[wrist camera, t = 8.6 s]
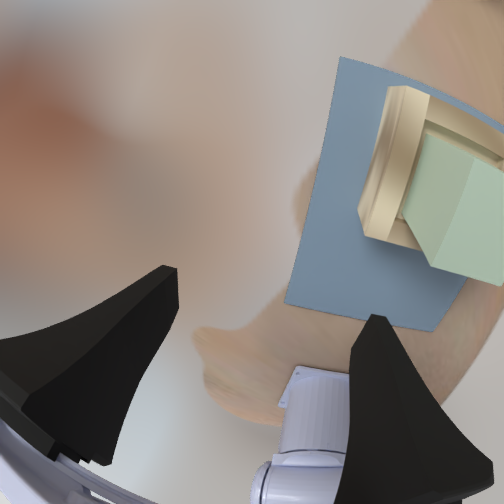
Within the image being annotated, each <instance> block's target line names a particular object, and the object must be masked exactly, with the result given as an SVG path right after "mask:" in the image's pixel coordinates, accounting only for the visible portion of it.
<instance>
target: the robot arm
mask: <svg viewBox="0 0 504 504" xmlns="http://www.w3.org/2000/svg"><path fill="white" fill-rule="evenodd" d="M178 309H179V299H178V278H177V268H173V267H169V266H165V265H162V266H160V267H158V268H156V269H155V270H153V271H152V272H150V273H148V274H147V275H145V276H144V277H143V278H141V279H139V280H138V281H136V282H135V283H133V284H131V285H130V286H128V287H127V288H125V289H124V290H122V291H120V292H119V293H117V294H115V295H114V296H112V297H110V298H108V299H107V300H105V301H103V302H102V303H100V304H98V305H96V306H95V307H93V308H91V309H89V310H87V311H85V312H83V313H81V314H79V315H76V316H74V317H73V318H70V319H68V320H65V321H63V322H60V323H57V324H55V325H52V326H50V327H47V328H44V329H41V330H38V331H35V332H32V333H28V334H25V335H20V336H16V337H12V338H6V339H1V340H0V490H1V491H2V493H3V494H4V495H5V497H6V498H7V499H8V500H9V501H10V502H11V503H12V504H110V503H108V502H106V501H103V500H101V499H98V498H96V497H94V496H92V495H91V492H90V490H91V491H93V492H95V493H97V494H98V495H100V496H102V497H104V498H106V499H108V500H110V501H112V502H114V503H116V504H157V503H155V502H152V501H150V500H148V499H145V498H143V497H140V496H138V495H136V494H134V493H131V492H129V491H127V490H125V489H122V488H121V487H119V486H117V485H115V484H113V483H111V482H109V481H107V480H105V479H103V478H101V477H99V476H98V475H96V474H94V473H92V472H91V471H89V470H87V469H85V468H84V467H82V466H80V465H79V464H78V463H79V461H80V459H81V460H83V461H85V462H86V463H90V461H91V460H93V461H94V462H96V463H98V464H100V465H102V466H107V465H110V464H112V459H113V455H114V451H115V448H116V444H117V441H118V437H119V434H120V431H121V428H122V425H123V422H124V419H125V417H126V414H127V411H128V409H129V406H130V404H131V401H132V399H133V396H134V394H135V392H136V389H137V387H138V385H139V382H140V380H141V378H142V376H143V374H144V373H145V371H146V369H147V367H148V366H149V364H150V362H151V361H152V359H153V357H154V356H155V354H156V352H157V351H158V349H159V347H160V346H161V344H162V342H163V341H164V339H165V337H166V335H167V334H168V332H169V330H170V328H171V325H172V323H173V321H174V319H175V316H176V314H177V311H178ZM278 406H279V407H281V408H285V414H284V419H283V425H282V430H281V435H280V441H279V446H278V449H279V453H278V454H273V459H272V461H267V462H265V463H264V464H263V465H262V466H261V467H259V468H258V470H257V472H256V474H255V476H254V479H253V483H252V487H251V493H250V504H462V499H465V498H467V497H469V496H472V495H474V494H477V493H479V492H481V491H483V490H485V489H487V488H489V487H491V486H492V485H493V484H494V473H493V462H492V461H491V460H490V459H489V458H488V457H486V456H485V455H484V454H483V453H482V452H481V451H479V450H478V449H477V448H476V447H475V446H474V445H473V444H472V443H471V442H470V441H469V440H468V439H467V438H466V437H465V436H464V435H463V434H462V432H461V431H460V430H459V429H458V428H457V427H456V426H455V424H454V423H453V422H452V421H451V420H450V418H449V417H448V416H447V415H446V413H445V412H444V411H443V410H442V408H441V407H440V405H439V404H438V402H437V401H436V400H435V398H434V397H433V395H432V394H431V392H430V391H429V389H428V388H427V386H426V385H425V383H424V381H423V380H422V378H421V377H420V375H419V373H418V372H417V370H416V368H415V367H414V365H413V363H412V361H411V360H410V358H409V356H408V354H407V353H406V351H405V349H404V347H403V345H402V344H401V342H400V340H399V338H398V336H397V335H396V333H395V331H394V329H393V328H392V326H391V324H390V322H389V321H388V319H387V317H386V316H381V315H376V314H371V315H370V317H369V319H368V320H367V322H366V324H365V326H364V328H363V329H362V331H361V333H360V335H359V336H358V338H357V340H356V341H355V343H354V345H353V346H352V348H351V355H350V366H349V374H345V373H338V372H332V371H326V370H321V369H315V368H310V367H304V366H297V367H296V368H295V370H294V372H293V374H292V376H291V378H290V380H289V382H288V384H287V386H286V389H285V391H284V393H283V395H282V397H281V399H280V401H279V403H278ZM89 489H90V490H89Z"/></svg>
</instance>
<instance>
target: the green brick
mask: <svg viewBox="0 0 504 504" xmlns="http://www.w3.org/2000/svg"><path fill="white" fill-rule="evenodd" d="M401 213H402V215H403V217H404V218H405V220H406V222H407V223H408V225H409V227H410V229H411V230H412V232H413V234H414V236H415V238H416V239H417V241H418V243H419V245H420V247H421V249H422V250H423V252H424V254H425V256H426V258H427V260H428V262H429V264H430V266H431V267H435V268H439V269H442V270H446V271H449V272H453V273H456V274H460V275H463V276H467V277H470V278H474V279H477V280H480V281H484V282H487V283H490V284H494V285H497V286H500V287H501V286H502V284H503V282H504V172H503V171H501V170H500V169H498V168H496V167H495V166H493V165H491V164H490V163H488V162H486V161H484V160H482V159H480V158H478V157H476V156H475V155H473V154H471V153H469V152H467V151H465V150H462V149H460V148H458V147H456V146H454V145H452V144H450V143H448V142H445V141H443V140H441V139H438V138H436V137H434V136H431V135H429V134H427V133H426V136H425V140H424V144H423V147H422V151H421V154H420V158H419V161H418V165H417V168H416V171H415V174H414V177H413V180H412V184H411V187H410V189H409V192H408V195H407V198H406V201H405V204H404V207H403V209H402V212H401Z"/></svg>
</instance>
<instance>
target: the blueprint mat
mask: <svg viewBox="0 0 504 504" xmlns="http://www.w3.org/2000/svg"><path fill="white" fill-rule="evenodd" d="M389 86H409V87H412V88H414V89H417V90H419V91H422V92H424V93H426V94H429V95H431V96H433V97H436V98H438V99H440V100H442V101H444V102H447V103H449V104H451V105H453V106H455V107H457V108H459V109H461V110H463V111H465V112H467V113H468V114H470V115H472V116H474V117H476V118H478V119H479V120H481V121H483V122H485V123H486V124H488V125H490V126H491V127H493V128H495V129H496V130H498V131H500V132H501V133H503V134H504V126H503V125H501V124H500V123H498V122H496V121H495V120H493V119H492V118H490V117H488V116H487V115H485V114H483V113H481V112H480V111H478V110H476V109H474V108H473V107H471V106H469V105H467V104H465V103H463V102H461V101H459V100H457V99H455V98H453V97H451V96H449V95H447V94H445V93H443V92H441V91H439V90H437V89H434V88H432V87H430V86H428V85H425V84H423V83H420V82H418V81H416V80H413V79H410V78H408V77H405V76H403V75H400V74H397V73H394V72H391V71H389V70H386V69H383V68H379V67H376V66H373V65H370V64H366V63H363V62H360V61H356V60H352V59H348V58H345V57H340V58H339V64H338V70H337V75H336V81H335V86H334V92H333V98H332V102H331V108H330V113H329V118H328V123H327V128H326V133H325V137H324V142H323V147H322V152H321V156H320V161H319V165H318V170H317V174H316V179H315V183H314V187H313V192H312V196H311V200H310V204H309V208H308V213H307V217H306V221H305V225H304V229H303V233H302V237H301V241H300V244H299V248H298V252H297V256H296V260H295V264H294V267H293V271H292V275H291V279H290V282H289V286H288V289H287V293H286V296H285V300H284V303H286V304H290V305H295V306H299V307H304V308H308V309H313V310H318V311H322V312H327V313H332V314H337V315H341V316H346V317H351V318H356V319H362V320H368V319H369V317H370V315H371V314H376V315H381V316H386V317H387V319H388V321H389V322H390V324H391V325H394V326H399V327H405V328H411V329H417V330H423V331H429V332H433V331H434V329H435V328H436V326H437V325H438V323H439V322H440V321H441V319H442V318H443V316H444V315H445V313H446V312H447V310H448V309H449V307H450V306H451V304H452V302H453V301H454V299H455V298H456V296H457V294H458V293H459V291H460V290H461V288H462V286H463V284H464V283H465V281H466V279H467V278H468V277H467V276H463V275H460V274H456V273H453V272H449V271H446V270H442V269H439V268H435V267H431V266H430V264H429V262H428V260H427V258H426V256H425V254H424V252H423V251H419V250H415V249H412V248H408V247H405V246H401V245H397V244H394V243H390V242H386V241H383V240H379V239H375V238H371V237H367V236H365V234H364V231H363V227H362V224H361V220H360V217H359V214H358V210H357V207H358V204H359V201H360V197H361V194H362V191H363V187H364V184H365V180H366V177H367V173H368V170H369V166H370V162H371V158H372V155H373V151H374V147H375V143H376V139H377V135H378V131H379V126H380V122H381V118H382V113H383V108H384V104H385V99H386V94H387V89H388V87H389Z"/></svg>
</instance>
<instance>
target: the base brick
mask: <svg viewBox="0 0 504 504" xmlns="http://www.w3.org/2000/svg"><path fill="white" fill-rule="evenodd" d="M426 133H427V134H429V135H431V136H434V137H436V138H438V139H441V140H443V141H445V142H448V143H450V144H452V145H454V146H456V147H458V148H460V149H462V150H465V151H467V152H469V153H471V154H473V155H475V156H476V157H478V158H480V159H482V160H484V161H486V162H488V163H490V164H491V165H493V166H495V167H496V168H498V169H500V170H501V171H503V172H504V134H503V133H501V132H500V131H498V130H496V129H495V128H493V127H491V126H490V125H488V124H486V123H485V122H483V121H481V120H479V119H478V118H476V117H474V116H472V115H470V114H468V113H467V112H465V111H463V110H461V109H459V108H457V107H455V106H453V105H451V104H449V103H447V102H444V101H442V100H440V99H438V98H436V97H433V96H431V95H429V94H426V93H424V92H422V91H419V90H417V89H414V88H412V87H409V86H389V87H388V89H387V94H386V99H385V104H384V108H383V113H382V118H381V122H380V126H379V131H378V135H377V139H376V143H375V147H374V151H373V155H372V158H371V162H370V166H369V170H368V173H367V177H366V180H365V184H364V187H363V191H362V194H361V197H360V201H359V204H358V207H357V210H358V214H359V217H360V220H361V224H362V227H363V231H364V234H365V236H367V237H371V238H375V239H379V240H383V241H386V242H390V243H394V244H397V245H401V246H405V247H408V248H412V249H415V250H419V251H423V250H422V249H421V247H420V245H419V243H418V241H417V239H416V238H415V236H414V234H413V232H412V230H411V229H410V227H409V225H408V223H407V222H406V220H405V218H404V217H403V215H402V213H401V212H402V209H403V207H404V204H405V201H406V198H407V195H408V192H409V189H410V187H411V184H412V180H413V177H414V174H415V171H416V168H417V165H418V161H419V158H420V154H421V151H422V147H423V144H424V140H425V136H426Z"/></svg>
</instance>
